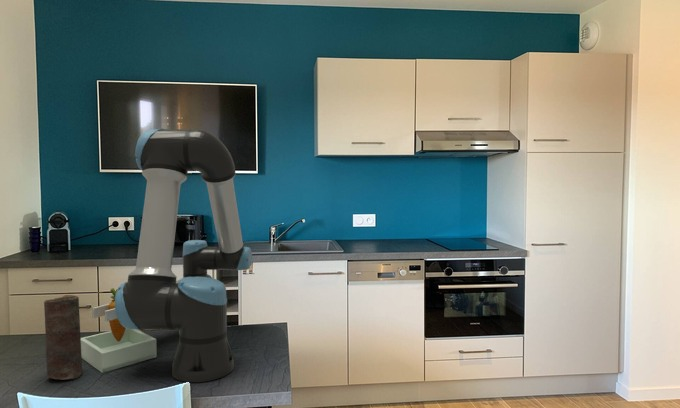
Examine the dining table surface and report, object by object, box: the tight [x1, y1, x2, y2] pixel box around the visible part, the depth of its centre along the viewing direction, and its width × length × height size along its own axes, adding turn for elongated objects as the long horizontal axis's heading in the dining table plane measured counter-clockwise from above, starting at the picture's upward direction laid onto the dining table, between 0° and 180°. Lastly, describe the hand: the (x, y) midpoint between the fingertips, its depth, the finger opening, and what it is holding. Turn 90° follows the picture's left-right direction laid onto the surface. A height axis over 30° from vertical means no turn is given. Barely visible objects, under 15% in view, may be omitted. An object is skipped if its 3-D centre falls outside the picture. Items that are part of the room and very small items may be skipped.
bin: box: [81, 328, 158, 374], centre depth 121 cm, size 16×14×5 cm
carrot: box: [108, 288, 126, 342], centre depth 121 cm, size 5×5×15 cm
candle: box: [43, 294, 83, 381], centre depth 108 cm, size 8×7×20 cm
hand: (99, 314), depth 117 cm, fingers closed on carrot, 5 cm apart
